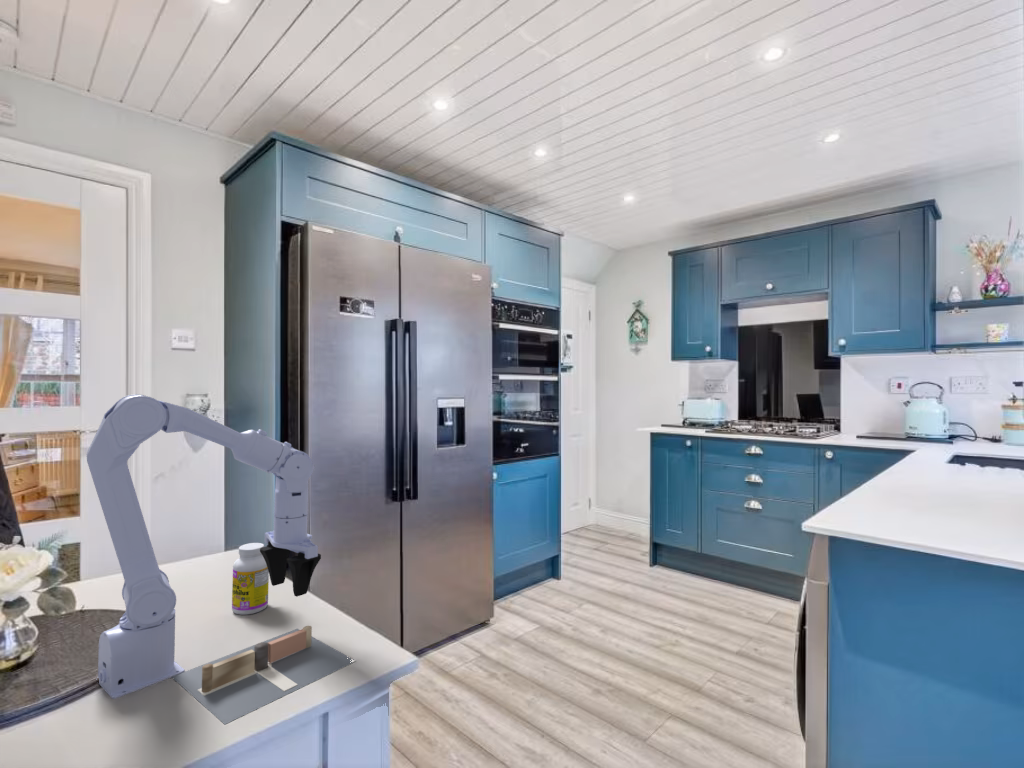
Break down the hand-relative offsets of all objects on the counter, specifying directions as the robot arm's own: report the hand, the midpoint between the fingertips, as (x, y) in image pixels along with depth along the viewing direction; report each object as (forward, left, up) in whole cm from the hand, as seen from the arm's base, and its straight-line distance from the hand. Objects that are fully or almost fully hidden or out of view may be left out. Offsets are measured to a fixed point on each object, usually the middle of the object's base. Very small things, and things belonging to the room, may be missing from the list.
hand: (289, 589), depth 96 cm
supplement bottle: (+1, +17, -9) cm, 19 cm away
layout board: (-8, -8, -9) cm, 14 cm away
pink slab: (-4, -7, -8) cm, 11 cm away
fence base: (-13, -7, -8) cm, 17 cm away
